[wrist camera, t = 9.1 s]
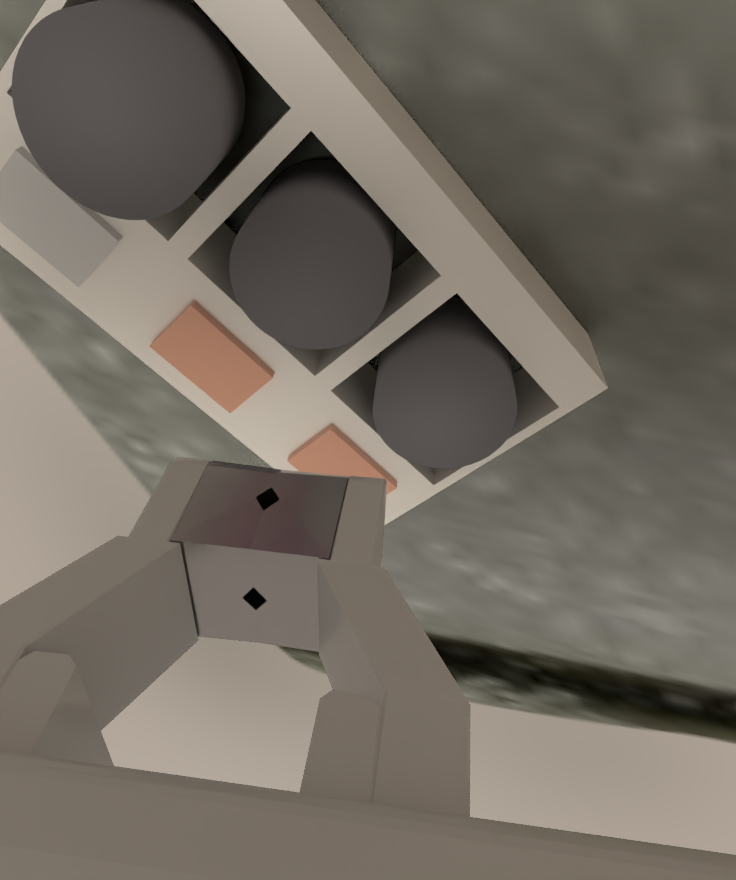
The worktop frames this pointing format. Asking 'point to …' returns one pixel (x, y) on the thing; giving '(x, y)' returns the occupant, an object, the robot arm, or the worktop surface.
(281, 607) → the robot arm
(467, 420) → the button
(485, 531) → the worktop surface
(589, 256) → the worktop surface
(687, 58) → the worktop surface
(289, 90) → the button board
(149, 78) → the button
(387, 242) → the button middle
